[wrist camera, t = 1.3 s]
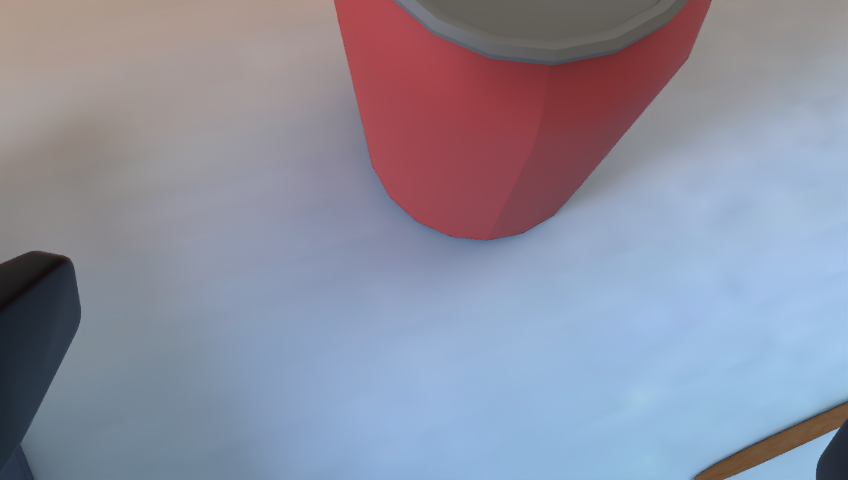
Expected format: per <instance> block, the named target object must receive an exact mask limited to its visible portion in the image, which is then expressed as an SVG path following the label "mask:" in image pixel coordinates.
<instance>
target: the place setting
mask: <svg viewBox="0 0 848 480" xmlns="http://www.w3.org/2000/svg"><path fill="white" fill-rule="evenodd" d="M847 418H848V402H847V403H845V404H842V405H840V406H838V407H836V408H834V409H831V410H829V411H827V412H825V413H822V414H820V415H818V416H816V417H813V418H811V419H809V420H807V421H805V422H802V423H800V424H798V425H796V426H794V427H791V428H789V429H787V430H785V431H783V432H780V433H778V434H776V435H774V436H772V437H770V438H767V439H765V440H763V441H761V442H759V443H757V444H755V445H753V446H750V447H748V448H746V449H744V450H742V451H740V452H738V453H736V454H734V455H732V456H730V457H728V458H726V459H724V460H723V461H721V462H719V463H717V464H715V465H713V466H712V467H710V468H708V469H706V470H705V471H703V472H701V473H700V474H699V475H697V476H696V477H695V478H694V479H695V480H723V479H726V478H728V477H731V476H733V475H736V474H738V473H740V472H743V471H745V470H747V469H750V468H752V467H754V466H757V465H759V464H761V463H763V462H766V461H768V460H770V459H772V458H774V457H777V456H779V455H781V454H783V453H785V452H787V451H790V450H792V449H794V448H796V447H798V446H800V445H803V444H805V443H807V442H809V441H811V440H813V439H815V438H818V437H820V436H822V435H824V434H826V433H828V432H830V431H832V430H835V429H837V428H839V427H841V426H842V424H843V423H844V421H845V420H846V419H847Z"/></svg>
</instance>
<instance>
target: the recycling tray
mask: <svg viewBox="0 0 848 480" xmlns="http://www.w3.org/2000/svg"><path fill="white" fill-rule="evenodd" d="M0 480H34V479H33V476H32V474H31V471H30V469H29V466H28V464H27V461H26V459H25V457H24V454H23V452H22V449H21V447H20V444H19V446H18V448H17V449H16V451H15V453H14V454H13V456H12V457H11V459H10V461H9V462H8V464H7V465H6V467H5V468H4V470H3V472H2V473H1V475H0Z"/></svg>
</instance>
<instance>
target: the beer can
mask: <svg viewBox="0 0 848 480" xmlns="http://www.w3.org/2000/svg"><path fill="white" fill-rule="evenodd" d="M334 2H335V7H336V12H337V17H338V22H339V26H340V30H341V35H342V39H343V43H344V47H345V52H346V56H347V60H348V64H349V69H350V73H351V77H352V81H353V86H354V90H355V94H356V98H357V103H358V107H359V111H360V115H361V120H362V124H363V128H364V132H365V137H366V141H367V145H368V149H369V154H370V158H371V162H372V166H373V168H374V170H375V172H376V174H377V175H378V177H379V179H380V181H381V182H382V184H383V186H384V188H385V189H386V191H387V193H388V194H389V196H390V198H391V199H392V200H394V201H395V202H396V203H397V204H398V205H399V206H400V207H401V208H403V209H404V210H405V211H406V212H407V213H408V214H409V215H410V216H412V217H413V218H414V219H415V220H416V221H417V222H419V223H422V224H424V225H426V226H428V227H431V228H433V229H435V230H437V231H440V232H442V233H444V234H446V235H449V236H452V237H461V238H470V239H480V240H491V239H496V238H501V237H506V236H511V235H515V234H520V233H524V232H525V231H527V230H529V229H531V228H532V227H534V226H536V225H538V224H540V223H541V222H543V221H545V220H547V219H548V218H550V217H552V216H554V215H555V214H556V213H557V211H558V210H559V209H560V208H561V207H562V206H563V205H564V204H565V202H566V201H567V200H568V199H569V198H570V197H571V196H572V195H573V194H574V192H575V191H576V190H577V189H578V188H579V187H580V186H581V184H582V183H583V182H584V181H585V180H586V179H587V177H588V176H589V175H590V174H591V173H592V171H593V170H594V169H595V168H596V167H597V166H598V164H599V163H600V162H601V161H602V160H603V158H604V157H605V156H606V155H607V154H608V153H609V151H610V150H611V149H612V148H613V147H614V145H615V144H616V143H617V142H618V141H619V140H620V138H621V137H622V136H623V135H624V134H625V132H626V131H627V130H628V129H629V128H630V127H631V125H632V124H633V123H634V122H635V121H636V119H637V118H638V117H639V116H640V115H641V114H642V112H643V111H644V110H645V109H646V108H647V107H648V105H649V104H650V103H651V102H652V101H653V99H654V98H655V97H656V96H657V95H658V94H659V92H660V91H661V90H662V89H663V88H664V86H665V85H666V84H667V83H668V82H669V81H670V79H671V78H672V77H673V76H674V75H675V73H676V72H677V71H678V70H679V69H680V68H681V66H682V65H683V64H684V63H685V62H686V60H687V59H688V57H689V55H690V52H691V50H692V48H693V45H694V43H695V40H696V38H697V35H698V33H699V31H700V28H701V26H702V23H703V21H704V19H705V16H706V14H707V11H708V9H709V6H710V3H711V0H334Z"/></svg>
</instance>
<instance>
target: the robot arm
mask: <svg viewBox="0 0 848 480" xmlns="http://www.w3.org/2000/svg"><path fill="white" fill-rule="evenodd" d="M80 319H81V306H80V300H79V294H78V288H77V282H76V276H75V269H74V266H73V263H72V261H71V260H70V259H69V258H68V257H66V256H63V255H58V254H53V253H48V252H43V251H31V252H28V253H25V254H23V255H20V256H18V257H16V258H13V259H11V260H9V261H6V262H4V263H2V264H0V475H1V473H2V472H3V470H4V468H5V467H6V465H7V464H8V462H9V461H10V459H11V457H12V456H13V454H14V453H15V451H16V449H17V448H18V446H19V444H20V443H21V441H22V439H23V437H24V435H25V434H26V432H27V430H28V428H29V426H30V424H31V422H32V420H33V418H34V416H35V414H36V412H37V410H38V408H39V406H40V404H41V402H42V400H43V398H44V396H45V394H46V392H47V390H48V388H49V386H50V384H51V382H52V380H53V378H54V376H55V374H56V372H57V370H58V368H59V366H60V364H61V362H62V360H63V358H64V356H65V354H66V352H67V350H68V348H69V346H70V344H71V342H72V340H73V338H74V336H75V334H76V332H77V329H78V327H79V323H80ZM816 480H848V418H847V419H846V420H845V421H844V423H843V424H842V426H841V427H840V429H839V430H838V432H837V433H836V434H835V436H834V437H833V439H832V440H831V442H830V443H829V445H828V446H827V448H826V449H825V450H824V452H823V453H822V455H821V457H820V459H819V461H818V464H817V469H816Z"/></svg>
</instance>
